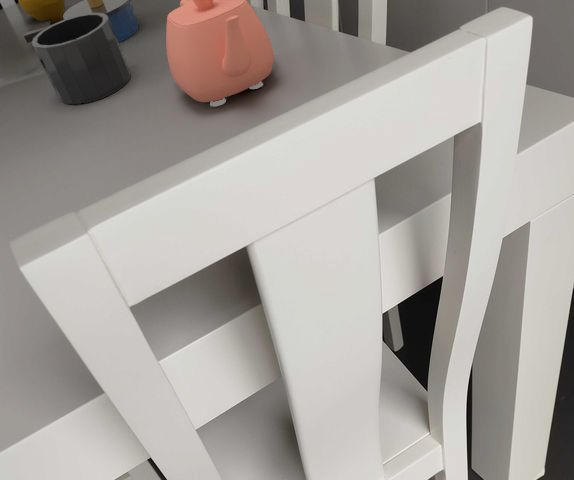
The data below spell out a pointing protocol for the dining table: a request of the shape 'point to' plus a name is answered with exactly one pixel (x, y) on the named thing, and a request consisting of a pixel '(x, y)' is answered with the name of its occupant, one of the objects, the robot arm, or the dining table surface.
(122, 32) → the pan
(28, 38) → the pan handle
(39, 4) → the apple
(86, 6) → the lid
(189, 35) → the teapot
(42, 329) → the dining table surface
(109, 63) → the pot
